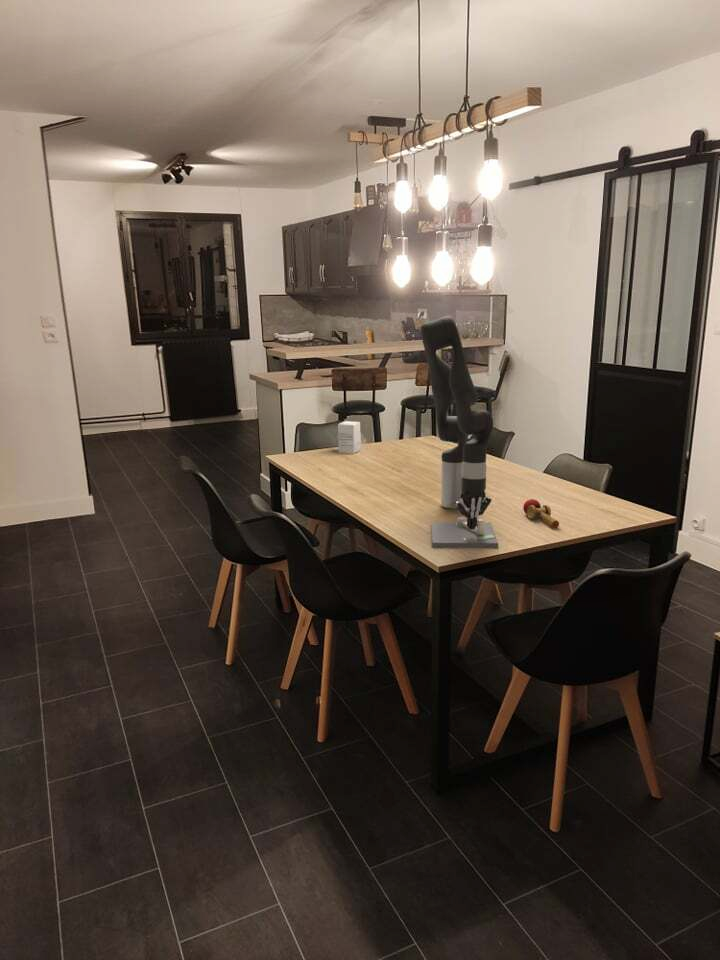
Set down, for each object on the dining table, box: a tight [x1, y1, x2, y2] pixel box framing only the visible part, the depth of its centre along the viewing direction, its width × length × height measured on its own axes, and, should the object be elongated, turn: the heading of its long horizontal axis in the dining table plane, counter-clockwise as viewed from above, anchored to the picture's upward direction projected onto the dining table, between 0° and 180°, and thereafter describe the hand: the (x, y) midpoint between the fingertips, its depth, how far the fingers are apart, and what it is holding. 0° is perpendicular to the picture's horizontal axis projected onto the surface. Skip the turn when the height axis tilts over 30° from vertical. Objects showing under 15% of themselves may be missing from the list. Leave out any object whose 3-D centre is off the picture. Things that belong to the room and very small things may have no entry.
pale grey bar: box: [456, 516, 485, 535], centre depth 218 cm, size 14×3×5 cm, turn 24°
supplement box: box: [337, 420, 362, 454], centre depth 340 cm, size 9×9×15 cm
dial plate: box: [430, 521, 499, 549], centre depth 217 cm, size 20×20×2 cm
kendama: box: [522, 498, 560, 529], centre depth 231 cm, size 8×6×18 cm
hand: (471, 528), depth 212 cm, fingers closed
